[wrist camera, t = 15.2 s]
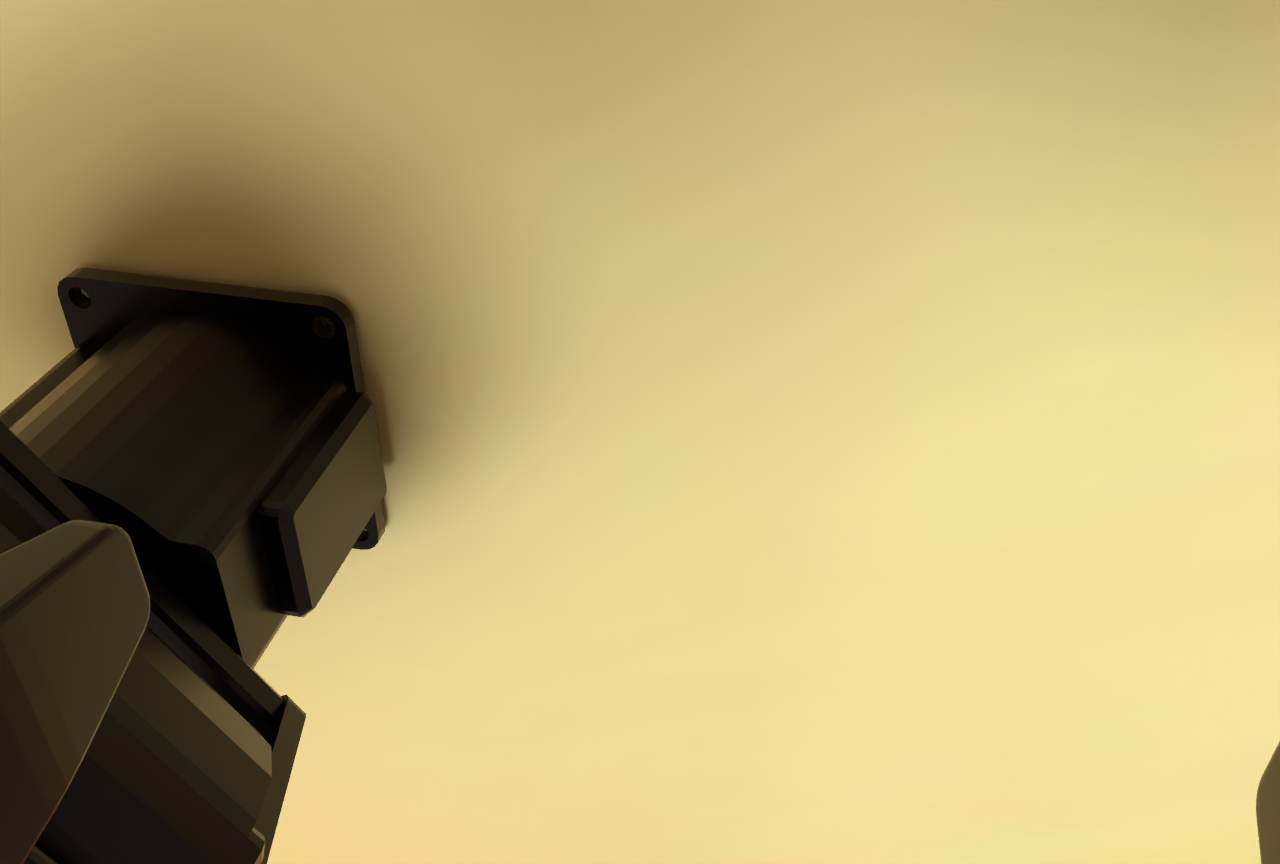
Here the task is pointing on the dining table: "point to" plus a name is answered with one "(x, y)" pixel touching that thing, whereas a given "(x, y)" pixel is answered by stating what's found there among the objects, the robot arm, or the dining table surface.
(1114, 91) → the dining table surface
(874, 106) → the dining table surface
